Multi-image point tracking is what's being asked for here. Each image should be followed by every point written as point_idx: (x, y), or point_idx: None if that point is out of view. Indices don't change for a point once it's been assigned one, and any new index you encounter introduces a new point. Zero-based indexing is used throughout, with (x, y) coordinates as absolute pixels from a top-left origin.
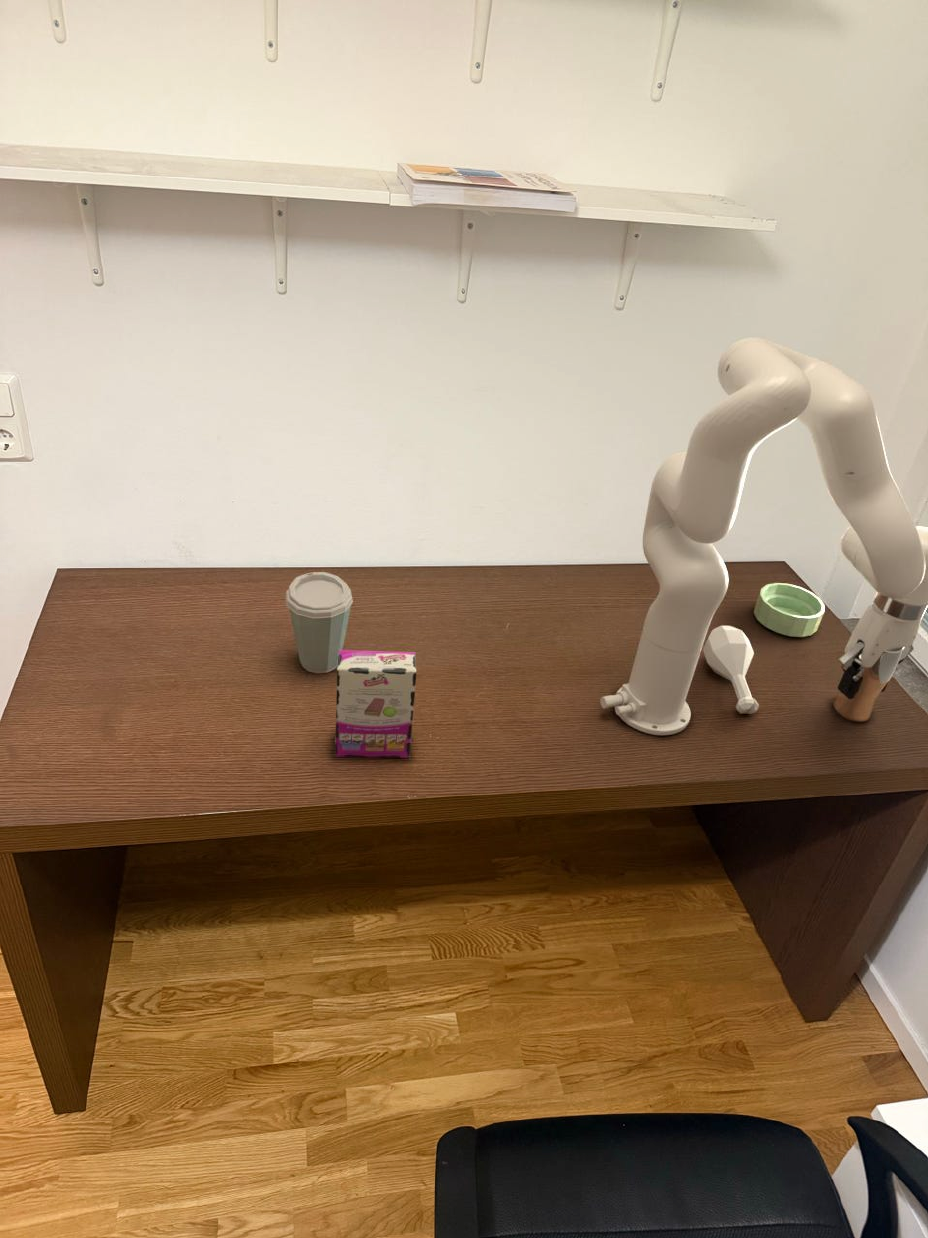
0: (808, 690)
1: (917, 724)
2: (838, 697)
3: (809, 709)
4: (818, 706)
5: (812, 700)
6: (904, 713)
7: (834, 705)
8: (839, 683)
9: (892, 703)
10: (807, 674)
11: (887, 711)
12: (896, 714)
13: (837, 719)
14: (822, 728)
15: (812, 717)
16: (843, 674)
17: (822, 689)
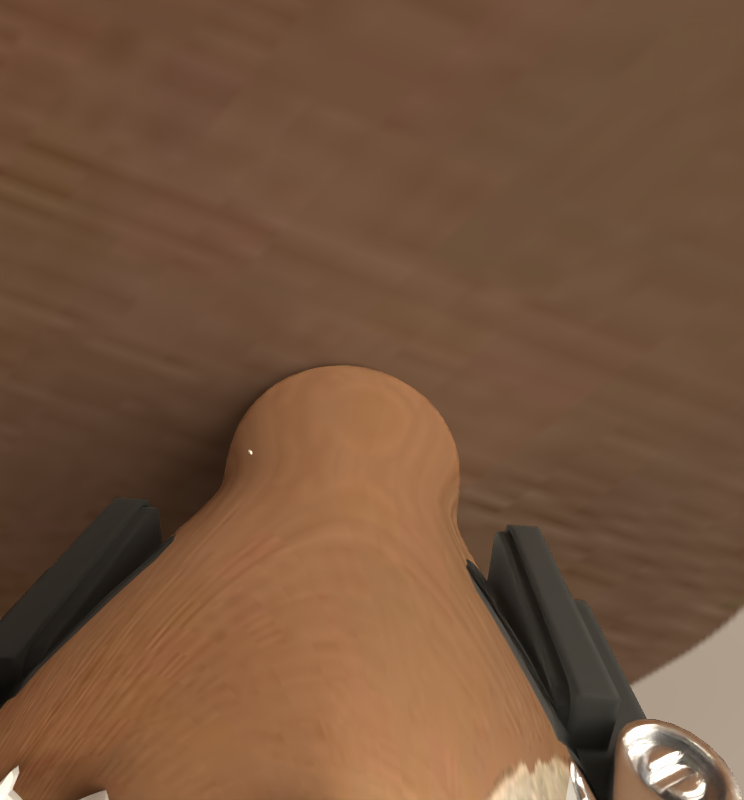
0: (197, 193)
1: (630, 681)
2: (256, 423)
3: (62, 364)
4: (148, 363)
5: (148, 298)
6: (654, 600)
7: (247, 411)
8: (95, 521)
9: (677, 515)
10: (343, 5)
11: (569, 554)
12: (597, 590)
13: (188, 498)
14: (35, 522)
15: (33, 430)
16: (22, 601)
17: (319, 225)
